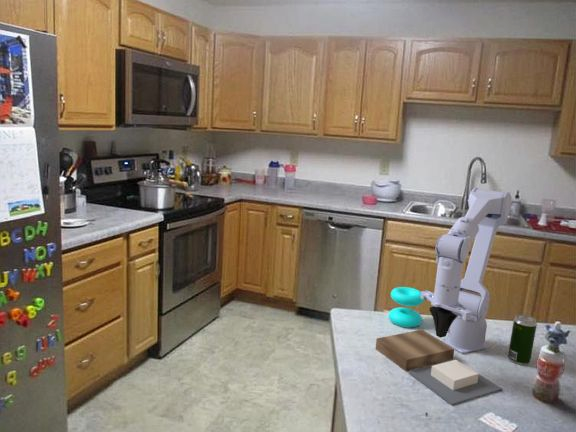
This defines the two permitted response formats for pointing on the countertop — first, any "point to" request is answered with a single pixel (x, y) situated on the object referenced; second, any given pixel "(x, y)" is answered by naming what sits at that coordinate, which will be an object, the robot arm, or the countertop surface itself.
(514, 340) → the beer can
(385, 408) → the countertop surface
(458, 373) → the tile
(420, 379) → the mat
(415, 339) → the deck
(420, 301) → the donuts
